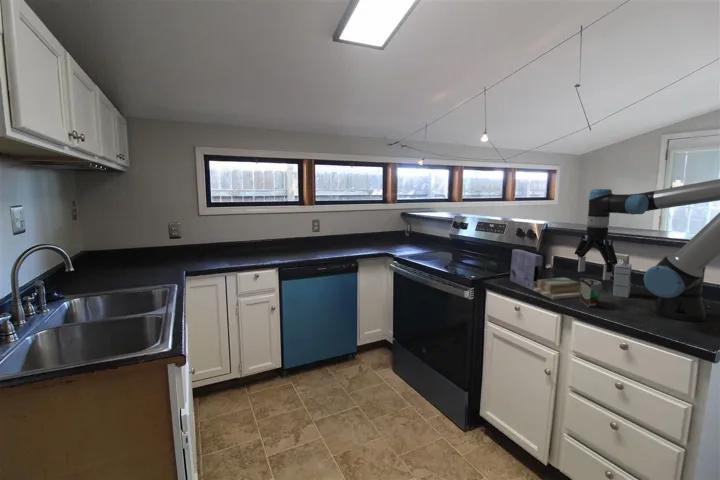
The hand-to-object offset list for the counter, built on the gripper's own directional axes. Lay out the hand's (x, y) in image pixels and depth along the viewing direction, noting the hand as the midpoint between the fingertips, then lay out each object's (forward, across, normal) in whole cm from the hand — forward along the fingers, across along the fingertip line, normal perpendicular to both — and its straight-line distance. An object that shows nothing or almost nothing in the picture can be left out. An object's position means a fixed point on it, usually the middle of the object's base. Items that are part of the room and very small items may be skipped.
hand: (593, 275), depth 152 cm
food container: (+13, 0, 0) cm, 13 cm away
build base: (+13, -18, -3) cm, 22 cm away
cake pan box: (+14, -31, -10) cm, 36 cm away
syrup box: (+13, -6, +21) cm, 26 cm away
